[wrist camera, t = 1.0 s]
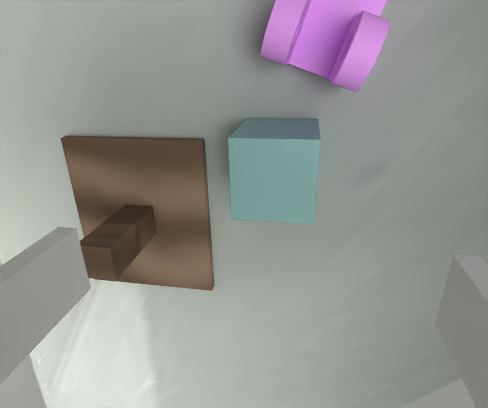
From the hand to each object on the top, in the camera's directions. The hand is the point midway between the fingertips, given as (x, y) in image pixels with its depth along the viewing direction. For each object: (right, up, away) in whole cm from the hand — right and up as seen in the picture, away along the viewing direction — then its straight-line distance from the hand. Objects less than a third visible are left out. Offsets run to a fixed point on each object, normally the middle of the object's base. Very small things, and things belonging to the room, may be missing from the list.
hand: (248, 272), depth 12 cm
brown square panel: (-9, +2, +18) cm, 20 cm away
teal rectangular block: (+3, +6, +14) cm, 16 cm away
